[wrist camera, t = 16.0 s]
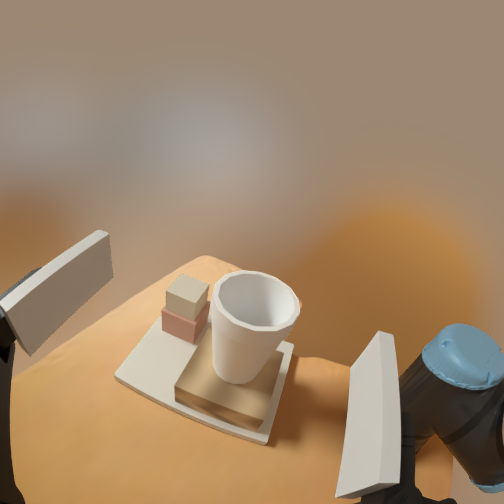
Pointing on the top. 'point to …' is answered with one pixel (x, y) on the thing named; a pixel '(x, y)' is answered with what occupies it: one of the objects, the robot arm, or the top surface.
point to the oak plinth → (226, 389)
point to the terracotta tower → (186, 308)
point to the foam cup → (249, 322)
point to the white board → (170, 368)
